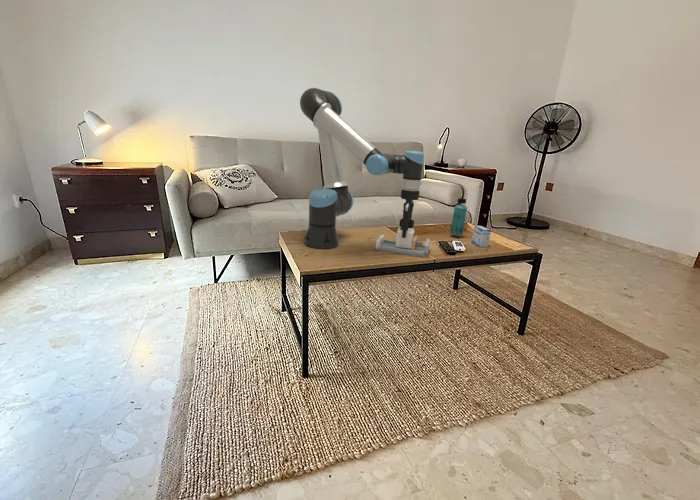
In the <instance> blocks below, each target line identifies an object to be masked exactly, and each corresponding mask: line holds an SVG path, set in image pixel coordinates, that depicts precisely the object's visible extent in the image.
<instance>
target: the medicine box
mask: <svg viewBox="0 0 700 500" xmlns="http://www.w3.org/2000/svg"><path fill="white" fill-rule="evenodd" d="M491 232H492V229H489V228H488V227H484V226H483V225H474V226H473V232H472V236H471V244H474V245H475V246H476V247H480V248H488V247H489V244H490V243H489V242H490V238H491V235H492V233H491Z"/></svg>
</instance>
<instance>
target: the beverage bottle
mask: <svg viewBox="0 0 700 500" xmlns="http://www.w3.org/2000/svg"><path fill="white" fill-rule="evenodd" d="M456 203H458V204H456V205H454V207H453V213H452V219H451V225H450V229H449V231H450V232H449V233H450V234H451V235H453V236H458V237H459V236H460V237H461V236H463V234H464V227H465V222H466V217H467V210H468V207H467V205H464V204H466V203H467V199H466V198H460V197H459V198H458V199H457V202H456Z"/></svg>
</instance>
